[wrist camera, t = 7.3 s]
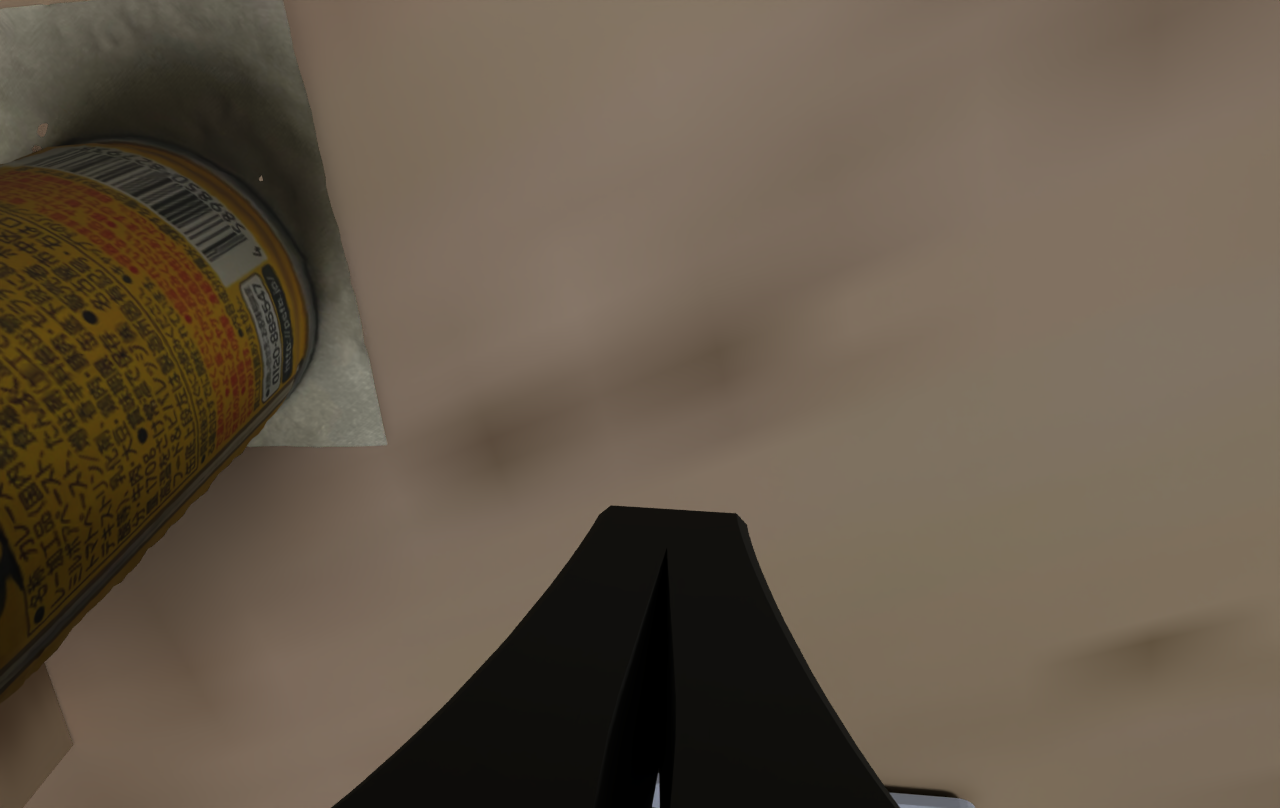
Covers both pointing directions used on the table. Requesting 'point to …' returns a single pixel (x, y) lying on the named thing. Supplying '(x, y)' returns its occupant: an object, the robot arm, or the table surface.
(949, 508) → the table surface
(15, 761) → the board
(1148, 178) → the table surface
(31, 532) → the condiment
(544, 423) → the table surface
